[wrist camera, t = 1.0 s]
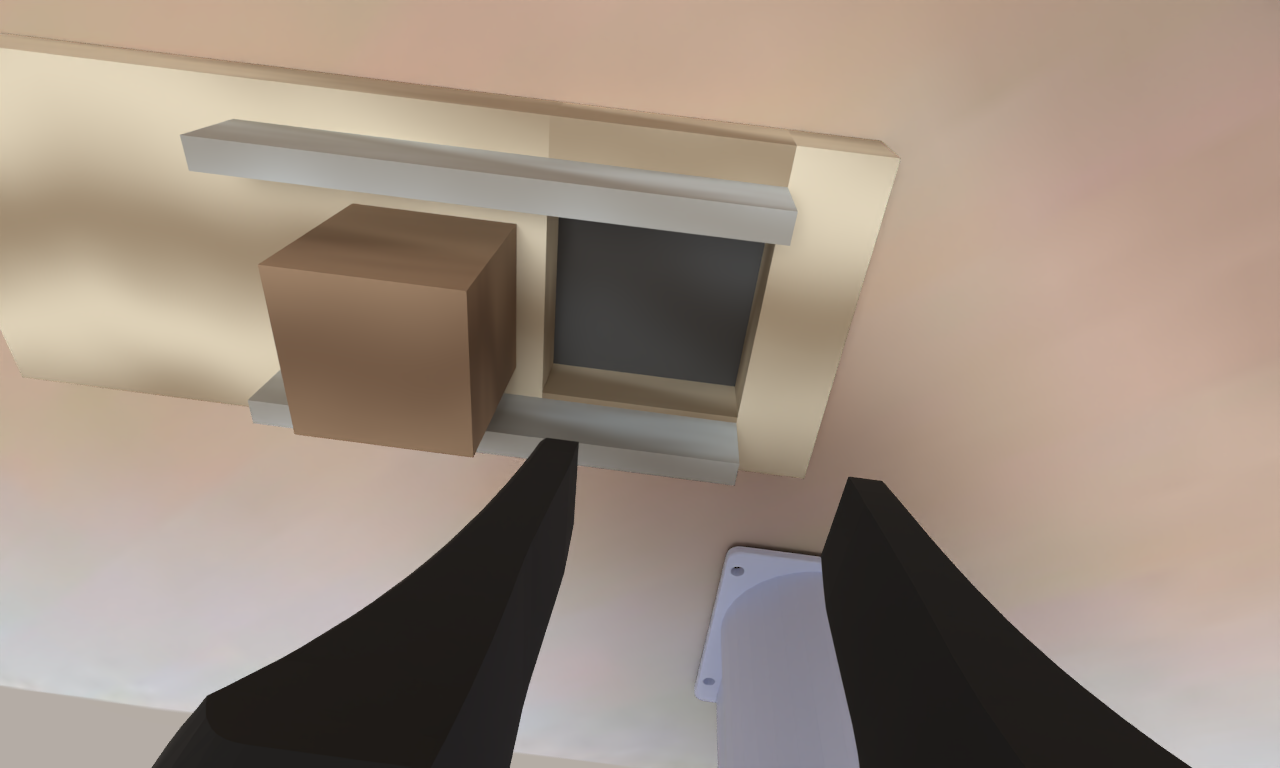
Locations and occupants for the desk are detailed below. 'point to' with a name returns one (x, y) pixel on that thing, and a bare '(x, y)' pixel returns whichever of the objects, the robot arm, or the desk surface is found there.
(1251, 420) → the desk surface
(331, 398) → the walnut cube
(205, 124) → the channel board
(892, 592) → the robot arm
